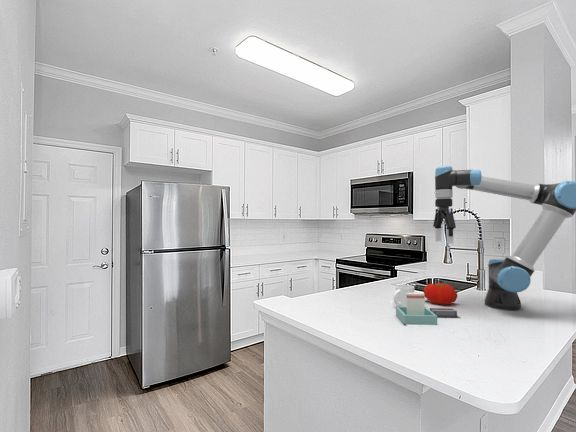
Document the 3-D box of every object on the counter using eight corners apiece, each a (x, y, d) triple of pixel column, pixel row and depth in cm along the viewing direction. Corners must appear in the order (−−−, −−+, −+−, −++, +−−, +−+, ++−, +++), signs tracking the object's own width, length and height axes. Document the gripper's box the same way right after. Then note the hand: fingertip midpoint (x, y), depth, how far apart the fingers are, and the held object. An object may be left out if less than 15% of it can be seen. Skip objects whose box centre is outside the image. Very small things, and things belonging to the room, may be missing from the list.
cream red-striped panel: (423, 318, 138) (423, 293, 138) (424, 319, 136) (424, 293, 136) (406, 318, 138) (406, 292, 138) (407, 319, 137) (407, 293, 137)
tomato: (438, 298, 174) (438, 280, 174) (463, 306, 159) (463, 286, 159) (416, 300, 170) (416, 282, 170) (440, 309, 154) (440, 288, 154)
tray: (425, 316, 143) (425, 307, 143) (437, 326, 130) (437, 316, 130) (395, 315, 144) (395, 306, 144) (404, 325, 131) (404, 315, 131)
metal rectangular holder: (453, 314, 146) (453, 306, 146) (461, 319, 138) (461, 311, 138) (426, 313, 147) (426, 306, 147) (432, 319, 139) (432, 311, 139)
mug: (400, 311, 150) (400, 289, 150) (387, 307, 157) (387, 286, 157) (417, 308, 156) (417, 286, 156) (404, 304, 163) (403, 283, 163)
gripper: (426, 200, 169) (426, 240, 169) (446, 197, 144) (446, 244, 144) (441, 199, 169) (441, 240, 168) (463, 197, 144) (464, 244, 144)
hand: (443, 242), depth 156 cm, fingers open, 13 cm apart
